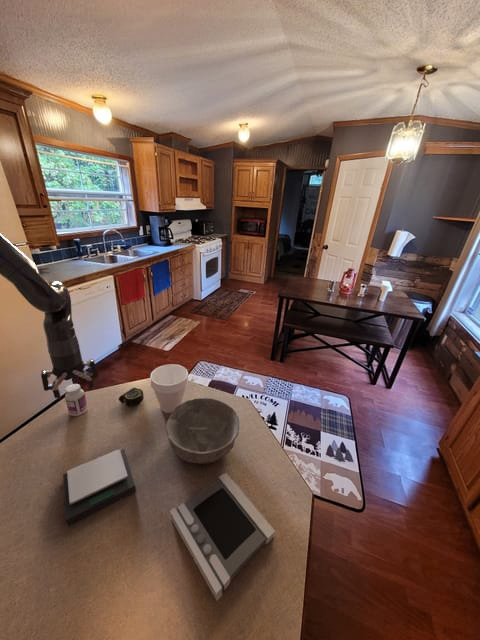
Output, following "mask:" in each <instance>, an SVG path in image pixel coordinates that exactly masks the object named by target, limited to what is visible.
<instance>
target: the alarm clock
mask: <svg viewBox="0 0 480 640" xmlns="http://www.w3.org/2000/svg"><path fill="white" fill-rule="evenodd" d="M169 514H170V519H171V522H172V524H173V525H174V527H175V529H176V531H177V533H178V534H179V537H180V538H181V539H182V541H183V543H184V545H185V547H186V549H187V548H188V549H187V551H188V552H189V554H190V556H191V557H193V558H192V559H193V561H194V564H195V565H196V567H197V566H198V567H197V568H198V571H199V572H200V574H201V576H202V577H203V580H204V581H205V583H206V585H207V586H208V588H209V590H210V592H211V594H212V596H213V598H214V599H215V601H216V602H218V601H219V600H220V599H221V597H222V596H223V591H225V590H226V589H227V588H228V586H229V585H230V584H231V582H232V580H234V578H235V576H237V574H238V573H239V572H240V571H241V569H243V568H244V566H245V565H246V564H247V563H248V562H249V560H250V559H251V558H252V557H253V556H254V555H255V554H256V553H257V552H258V551H259V550H260V549H261V548H262V547H263V546H264V545H267V544H269V542H270V541H271V540H272V539H273V538H274V536H275V534H276V530H275V529H274V528H273V526H272V525H271V523H269V521H268V520H267V518H266V517H265V515H264V514H263V513H262V512H261V510H260V509H259V508H258V507H257V505H256V504H255V503H254V502H253V501H252V500H251V498H250V497H249V496H248V495H247V494H246V493H245V491H243V489H242V488H241V487H240V485H238V483H237V482H236V481H234V480H233V479H232V478H231V477H230V475H229V473H227V472H225V473H223V474H221V475H220V476H218V479H217V480H215V481H213V482H211V483H210V484H208V485H206V486H205V487H203V488H202V489H201V490H200V491H198V492H196V493H195V494H194V495H193V496H191V497H190V498H189V499H187V500H186V501H184V502H182V503H180V505H178V506H177V507H173V508H172V509H170V510H169Z"/></svg>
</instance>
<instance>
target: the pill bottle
mask: <svg viewBox="0 0 480 640" xmlns="http://www.w3.org/2000/svg"><path fill="white" fill-rule="evenodd" d="M64 399H65V403H66V407H67V411H68V414H69V415H70V416H72V417H77V416H81V415H83V414H84V413H86V412H87V411H88V407H89V406H88V402H87V397H86V393H85V391H84V390H83V389H82V387H81V385H80V384H78V383H73V384H70V385H68V386H66V388H65V395H64Z"/></svg>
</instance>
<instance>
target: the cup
mask: <svg viewBox="0 0 480 640" xmlns="http://www.w3.org/2000/svg"><path fill="white" fill-rule="evenodd" d="M149 378H150V387H151V388H152V389H153V393H154V394H155V397H156V399H157V402H158V404H159V408H160V410H161V411H162V412H163V413H167V414H171V413H172V411H174V409H175V408H176V407H178V406H179V405H181V404H182V403H183V399H184V394H185V391H186V388H187V386H188V384H189V371H188V369H187V368H186V367H184V366H182V365H180V364H175V363H170V364H169V363H168V364H163V365H160V366H158V367H155V368H154V370H152V371H151V373H150V377H149Z"/></svg>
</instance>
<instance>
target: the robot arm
mask: <svg viewBox="0 0 480 640" xmlns="http://www.w3.org/2000/svg"><path fill="white" fill-rule="evenodd" d="M0 276H1V277H2V278H4V279H5V280H6V281H8V282H9V283H10V284H12V285H13V286H14V287H15V289H16V290H17V291H18V292H19V293H20V295H21V296H22V297H23V298H24V299H25V300H26V301H27V302H28V303H29V304H30V305H31V306H32V307H33V308H34V309H36V310H38V311H40V312H42V313H44V318H43V320H42V321H43V322H42V326H43V332H44V335H45V338H46V346H47V352H48V354H49V358H50V362H51V365H52V369H50V370H47V369H42V370H41V371H40V377H41V382H42V387H43V388H42V389H43V391H44V392H47V391H52V393H53V397H54V398H55V399H57V400H61V398H62V397H61V392H60V389H59V386H60V385H61V384H62V383H63V382H64V381H70V380H71V379H78V377H80V378H81V379H85V380H86V381H87V382H86V383H87V386H88V390H89V391H92V390H93V388H94V380H93V379H96V378H98V377H99V374H98V371H97V367H96V363H95V360H94V358H90V359H89V360H86V361H84V360H83V357H82V353H81V348H80V343H79V340H78V336H77V334H76V329H75V325H74V322H73V317H72V314H73V313H72V300H71V294H70V291H69V289H68V287H67V286H66V285H65V284H63V283H62V282H59V281H55V280H54V281H53V280H52V281H47V280H46V279H44V277H42V275H41V273H40V268H39V267H38V266H37V265H36V264H35V262H33V261H32V260H31V259H30V258H28V256H26V255H25V254H24V253H23V252H22V251H21V250H20V249H18V248H17V247H16V246H15V245H13V244H12V243H11V242H10V241H9V240H8V239H7V238H5V236H3V235H2V234H1V233H0ZM86 367H87V368H89V369H91V371H92V372H91V373H90V372H88V371H87V370H86V369H85V368H86ZM51 375H53V376H55V379H54V380H53V381H52V383H50V382H49V379H50V378H51Z"/></svg>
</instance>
